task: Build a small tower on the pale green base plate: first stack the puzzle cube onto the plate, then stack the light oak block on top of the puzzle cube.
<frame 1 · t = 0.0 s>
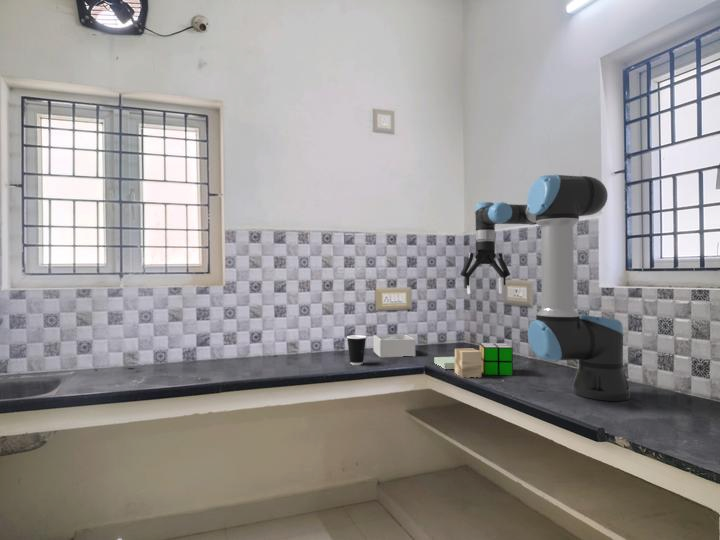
hand: (485, 293, 178), 28 cm above the worktop, tool pointing down, fingers open, 13 cm apart
ceramic mug: (393, 354, 199), on the worktop
base plate: (453, 366, 172), on the worktop
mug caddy: (393, 353, 199), on the worktop
oak block: (467, 375, 156), on the worktop
puzzle cube: (495, 373, 161), on the worktop
instruction sheet: (485, 364, 174), on the worktop
dixie cup: (356, 364, 176), on the worktop
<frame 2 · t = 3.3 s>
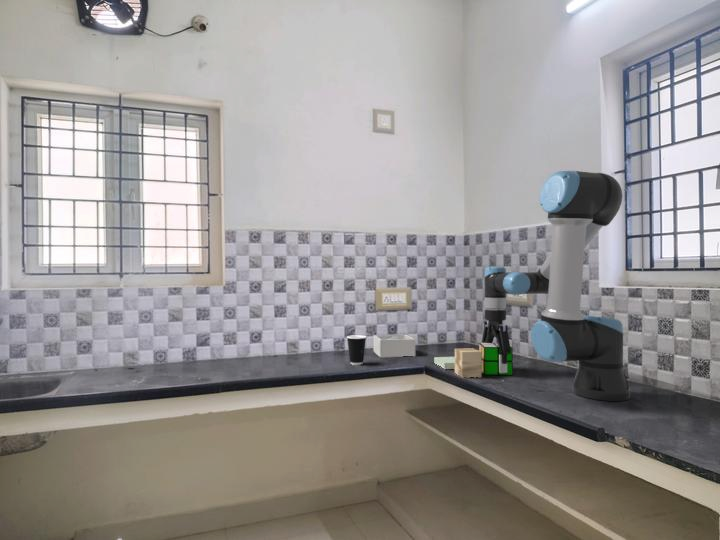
hand: (495, 369, 161), 1 cm above the worktop, tool pointing down, fingers closed on puzzle cube, 11 cm apart
puzzle cube: (495, 372, 161), on the worktop, touching gripper
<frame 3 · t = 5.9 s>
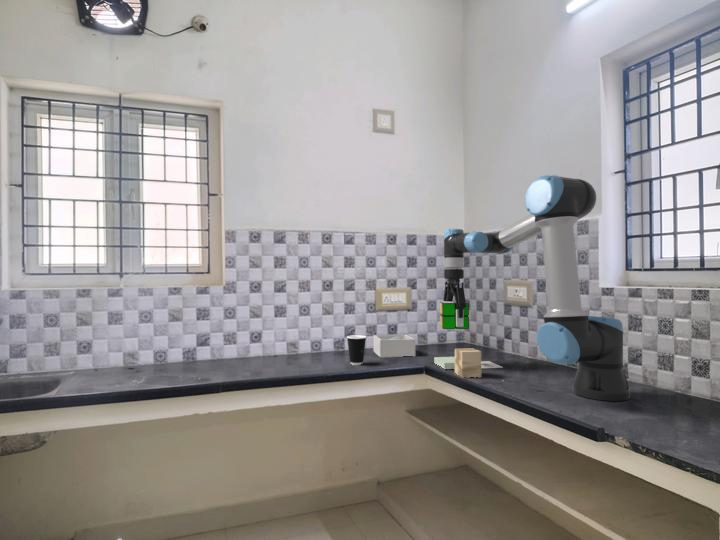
hand: (454, 324, 172), 16 cm above the worktop, tool pointing down, fingers closed on puzzle cube, 11 cm apart
puzzle cube: (454, 328, 172), point 15 cm above the worktop, touching gripper
when the fingers open (5 cm above the worktop, at t = 8.5 s): puzzle cube drops 1 cm, resting on base plate.
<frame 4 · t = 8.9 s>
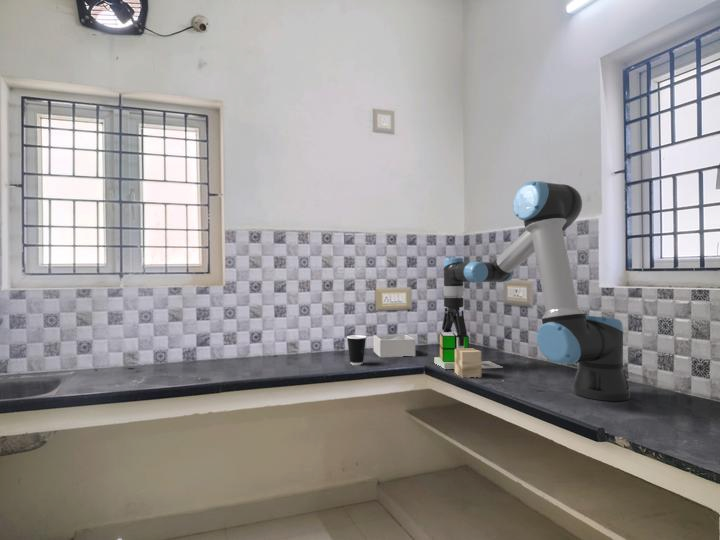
hand: (453, 351, 172), 6 cm above the worktop, tool pointing down, fingers open, 13 cm apart
puzzle cube: (454, 360, 172), point 2 cm above the worktop, touching base plate
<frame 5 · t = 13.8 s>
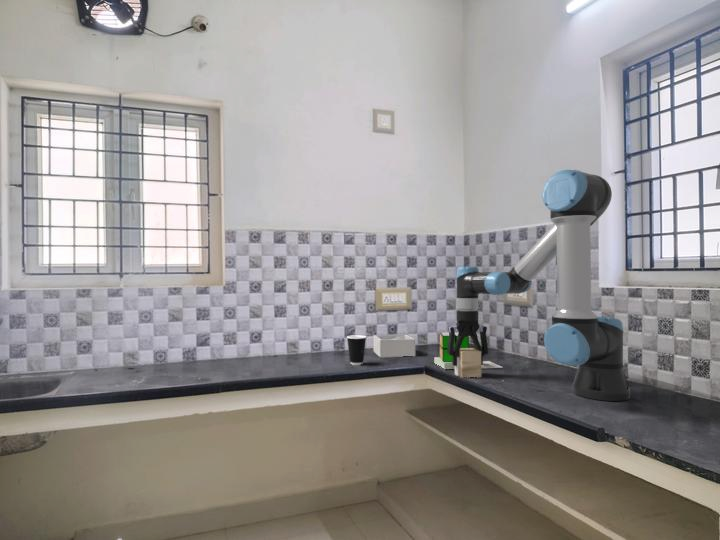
hand: (467, 374, 156), 0 cm above the worktop, tool pointing down, fingers closed on oak block, 7 cm apart
oak block: (467, 375, 156), on the worktop, touching gripper
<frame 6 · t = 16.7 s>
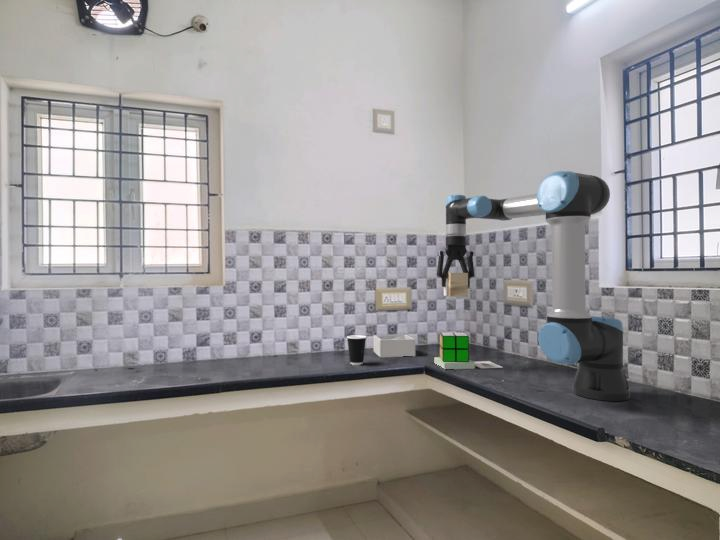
hand: (455, 295, 169), 28 cm above the worktop, tool pointing down, fingers closed on oak block, 7 cm apart
oak block: (455, 296, 169), point 27 cm above the worktop, touching gripper
when the fingers open (15 cm above the worktop, at t = 19.7 s): oak block drops 2 cm, resting on puzzle cube.
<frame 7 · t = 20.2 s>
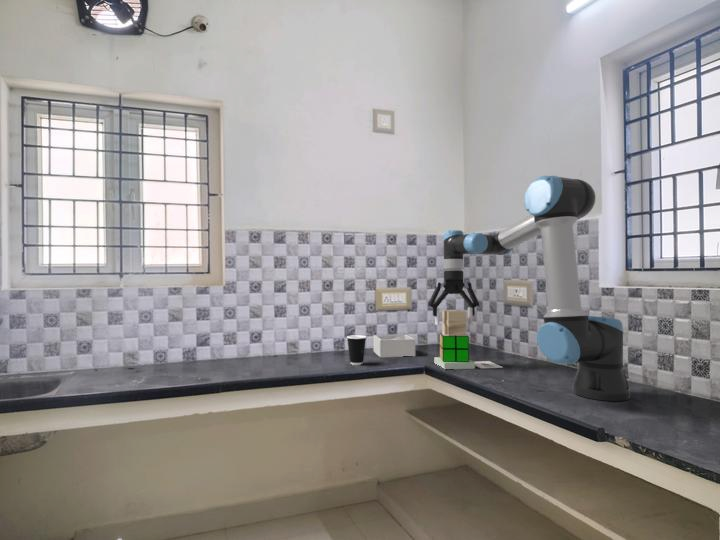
hand: (453, 324, 172), 16 cm above the worktop, tool pointing down, fingers open, 13 cm apart
oak block: (454, 334, 172), point 12 cm above the worktop, touching puzzle cube
puzzle cube: (454, 360, 172), point 2 cm above the worktop, touching base plate, oak block
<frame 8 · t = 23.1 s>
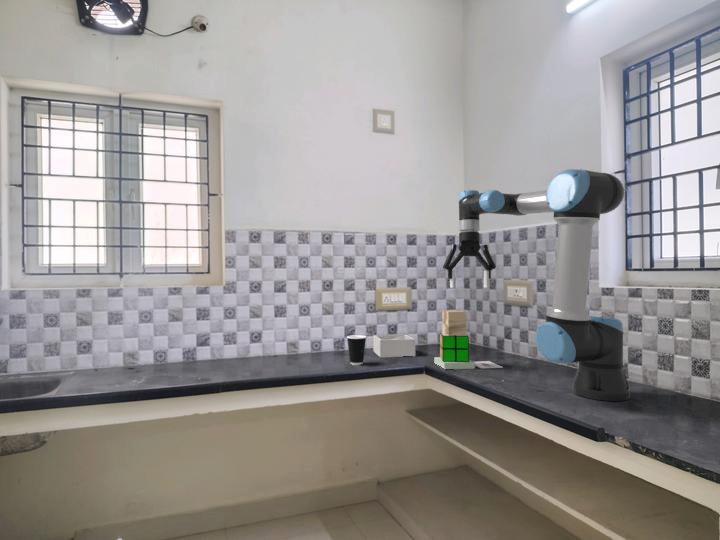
hand: (469, 287, 167), 31 cm above the worktop, tool pointing down, fingers open, 13 cm apart
at the end: puzzle cube 0.1 cm from the base plate (horizontally); oak block inside the target area on the base plate (0.2 cm from its centre), point 12.5 cm above the base plate's base; oak block tilted 0° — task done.
